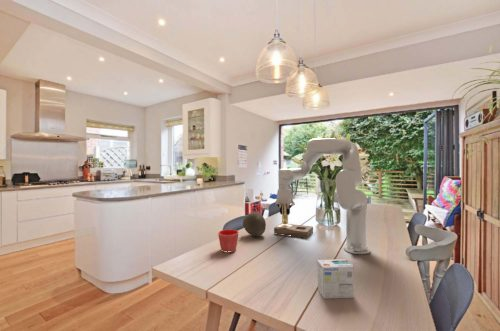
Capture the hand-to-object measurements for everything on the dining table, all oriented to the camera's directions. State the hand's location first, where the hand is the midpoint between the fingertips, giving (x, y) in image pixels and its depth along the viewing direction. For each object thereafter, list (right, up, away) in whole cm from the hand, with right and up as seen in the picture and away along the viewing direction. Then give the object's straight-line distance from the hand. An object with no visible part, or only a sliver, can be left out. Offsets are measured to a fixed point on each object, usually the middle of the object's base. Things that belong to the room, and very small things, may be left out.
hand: (284, 214), depth 157 cm
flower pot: (-35, -13, -32) cm, 49 cm away
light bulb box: (+6, -12, -75) cm, 77 cm away
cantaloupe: (-20, -13, -8) cm, 25 cm away
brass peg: (0, -6, 0) cm, 6 cm away
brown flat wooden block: (+5, -12, -3) cm, 14 cm away
